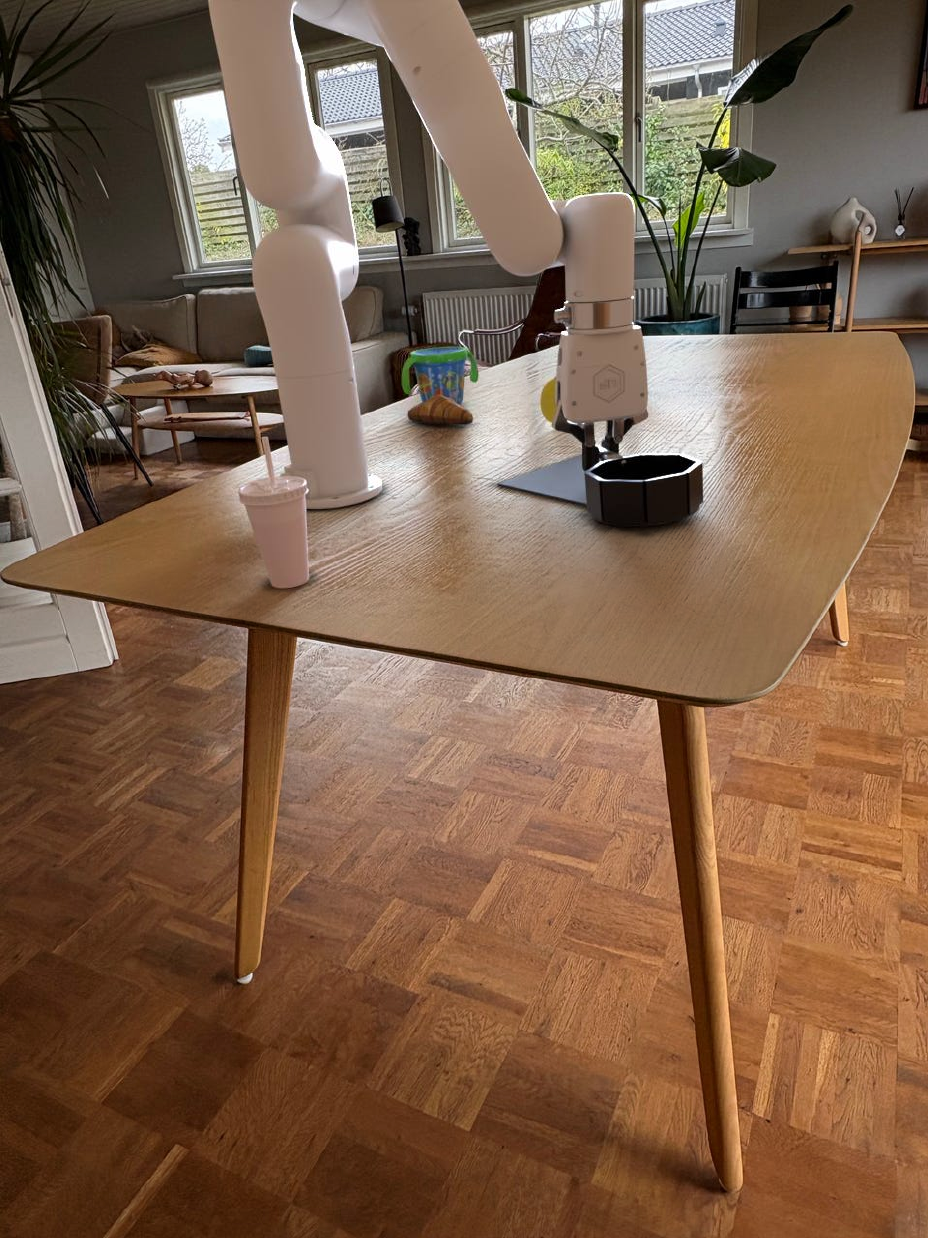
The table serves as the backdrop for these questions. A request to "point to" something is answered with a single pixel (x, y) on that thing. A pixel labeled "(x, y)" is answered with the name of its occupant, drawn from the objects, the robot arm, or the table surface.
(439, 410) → the croissant
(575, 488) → the mat
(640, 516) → the black octagonal pot
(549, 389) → the lemon
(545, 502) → the table surface
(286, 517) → the smoothie
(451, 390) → the snack cup
